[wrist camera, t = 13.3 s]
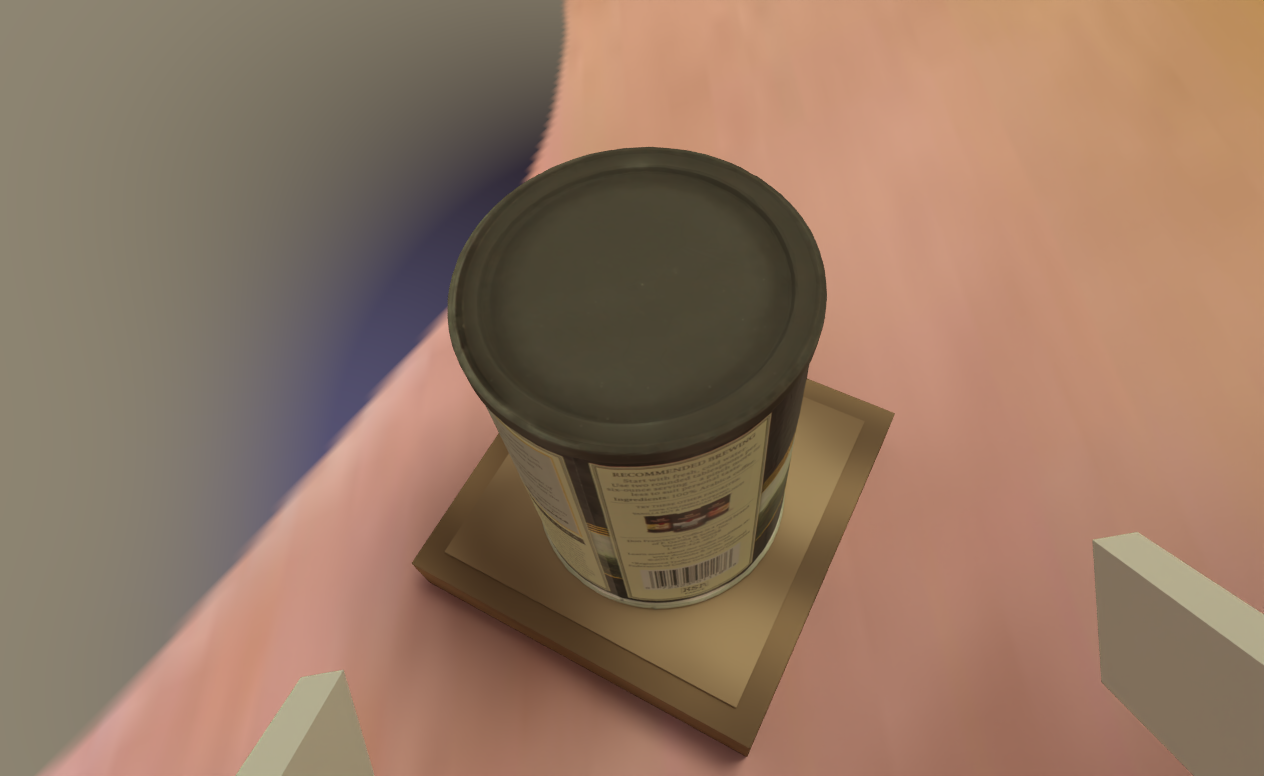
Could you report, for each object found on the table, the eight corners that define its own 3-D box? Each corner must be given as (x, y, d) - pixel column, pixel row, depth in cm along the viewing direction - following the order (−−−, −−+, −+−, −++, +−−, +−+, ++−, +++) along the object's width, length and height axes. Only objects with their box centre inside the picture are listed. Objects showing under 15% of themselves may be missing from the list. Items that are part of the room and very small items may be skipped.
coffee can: (669, 340, 38) (653, 94, 26) (837, 496, 34) (911, 287, 22) (488, 478, 36) (374, 274, 23) (645, 668, 31) (606, 537, 19)
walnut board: (598, 323, 42) (592, 291, 40) (884, 439, 38) (895, 411, 36) (429, 581, 36) (410, 562, 34) (746, 756, 32) (750, 748, 29)
